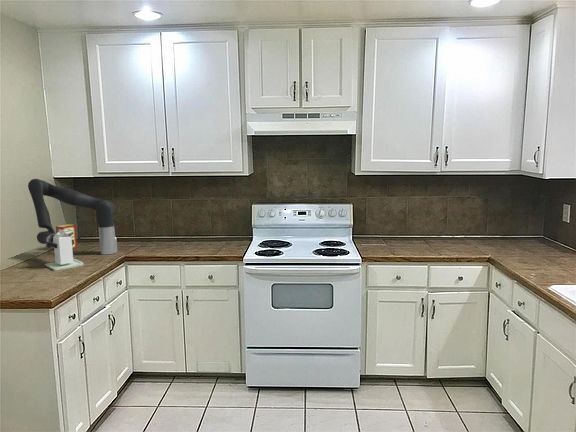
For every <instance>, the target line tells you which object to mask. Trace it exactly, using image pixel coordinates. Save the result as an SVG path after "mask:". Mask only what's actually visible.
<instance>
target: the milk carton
mask: <svg viewBox="0 0 576 432" xmlns="http://www.w3.org/2000/svg"><path fill="white" fill-rule="evenodd" d="M55 233H56V232H55ZM53 242H54V243H55V244H57V248H53V250H54V252H53V253H54V262H55V263H58V264H60V265H62V264H67V263H72V262H73V259H74V253H73V252H74V251H73V249H72V238H71V236H69V235H68V234H66V233H65V231H64V230H60V229H59V232H58V233H56V235H55V236H54V237H53Z"/></svg>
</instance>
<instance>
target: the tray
mask: <svg viewBox="0 0 576 432" xmlns="http://www.w3.org/2000/svg"><path fill="white" fill-rule="evenodd" d="M84 266H85V262H83V261H81V260H78V259H76V258H73V262H72V263H67V264H62V265H60V264H58V263H55V261H54V262H47V263H45V267H46V268H49V269H50V270H52V271H54V272H55V271H61V270H67V269H72V268H77V267H84Z"/></svg>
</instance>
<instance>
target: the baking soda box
mask: <svg viewBox="0 0 576 432" xmlns="http://www.w3.org/2000/svg"><path fill="white" fill-rule="evenodd" d="M59 229H60V230H64V231H65V233H66V234H68V235H69V236H71V238H72V239H73V240H74V244H73V245H72V250H73V249H77V247H78V243H77V232H76V224H72V223H71V224H70V223H69V224H63V225H62V224H61V225H56V226H55V233H58V232H59Z"/></svg>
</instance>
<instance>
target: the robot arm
mask: <svg viewBox="0 0 576 432" xmlns="http://www.w3.org/2000/svg"><path fill="white" fill-rule="evenodd" d="M27 189H28V191H29V193H30V196H31V200H32V202H33V206H34V211H35V214H36V221H37V226H38V228H42V229H47V230H45V231H40V232H38V233H37V235H36V239H37V242H38V243H39V244H43V245H45V247H46V248H48V249H50V248H53V249H54V248H57V244H55V243H54V242H53V237H54V236H55V235H56V230H55V229H54V227H53V225H52V222H51V221H52V220H51V215H50V212H49V209H48V207H47V205H46V203H45V199H44V196H46V197H50V198H54V199H56V200H57V201H60V202H62V203H64V204H67V205H70V206H73V207H78V208H85V209H86V208H87V209H92V210H94V211H95V215H96V221H97V222H96V223H97V224H98V237H99V249H100V251H99V252H100V254H101V255H112V254H117V253H118V243H117V237H116V233H115V232H116V231H115V229H116V228H115V221H113V216H112V214H113V213H114V212H115V209H116V208H115V207H116V206H115V205H114V204H115V203H113V202H111V201H110V200H106V199H100V198H97V197H93V196H90V195H88V194H85V193H83V192H80V191H77V190H74V189H71V188H66V187H60V186H57V185H55V184H51V183H50V182H47V181H45V180H42V179H39V178H33V179H31V180H30V181H28V184H27ZM73 244H74V240H73V239H72V245H73Z"/></svg>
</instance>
